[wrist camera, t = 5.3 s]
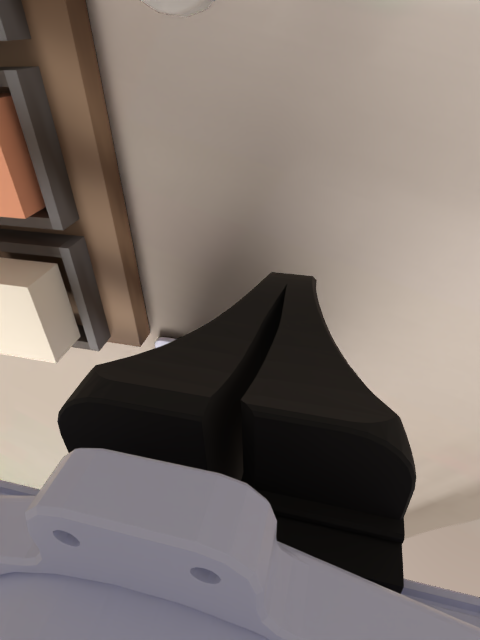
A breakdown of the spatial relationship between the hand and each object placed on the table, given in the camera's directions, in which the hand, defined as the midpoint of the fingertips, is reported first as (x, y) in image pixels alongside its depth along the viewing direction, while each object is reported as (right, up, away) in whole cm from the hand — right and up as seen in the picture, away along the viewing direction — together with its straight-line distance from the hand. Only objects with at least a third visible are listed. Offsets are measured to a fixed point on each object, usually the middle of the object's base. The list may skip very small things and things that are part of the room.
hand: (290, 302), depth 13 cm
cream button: (-14, +1, +12) cm, 18 cm away
